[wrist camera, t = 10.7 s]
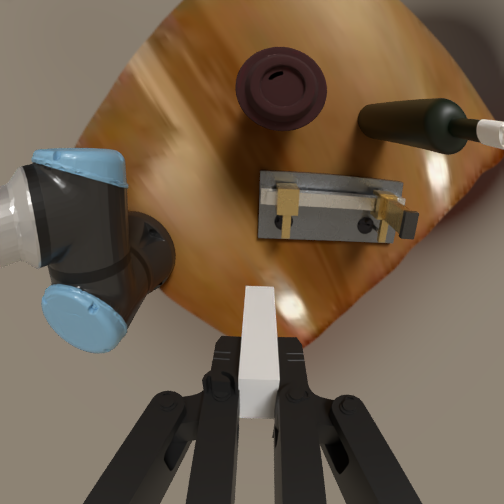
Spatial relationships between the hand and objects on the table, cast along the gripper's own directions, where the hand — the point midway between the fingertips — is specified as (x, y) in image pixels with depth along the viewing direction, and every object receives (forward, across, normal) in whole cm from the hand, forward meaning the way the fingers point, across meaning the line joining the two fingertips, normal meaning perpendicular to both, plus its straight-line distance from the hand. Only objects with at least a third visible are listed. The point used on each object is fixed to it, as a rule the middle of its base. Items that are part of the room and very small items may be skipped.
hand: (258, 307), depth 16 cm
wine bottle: (+33, +18, +12) cm, 39 cm away
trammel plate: (+32, +12, -3) cm, 35 cm away
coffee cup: (+33, +2, +14) cm, 36 cm away
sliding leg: (+31, +19, -3) cm, 37 cm away
